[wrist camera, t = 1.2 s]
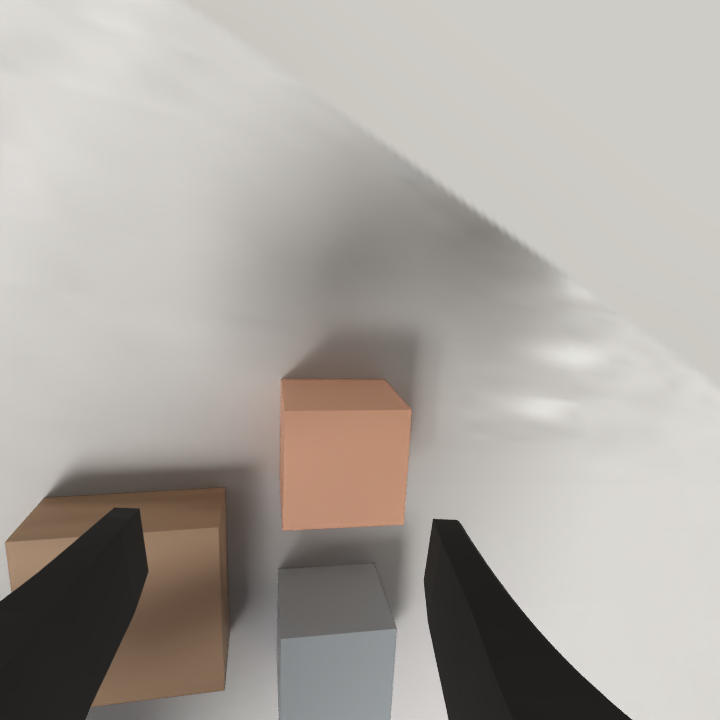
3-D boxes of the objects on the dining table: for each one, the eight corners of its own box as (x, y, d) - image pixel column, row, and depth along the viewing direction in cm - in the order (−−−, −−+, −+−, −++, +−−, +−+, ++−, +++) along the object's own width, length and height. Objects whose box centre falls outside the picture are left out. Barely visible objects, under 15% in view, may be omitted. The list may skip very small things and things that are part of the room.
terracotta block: (378, 474, 26) (403, 524, 22) (279, 477, 25) (282, 530, 21) (384, 378, 25) (411, 410, 21) (281, 378, 24) (284, 411, 20)
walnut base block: (230, 627, 27) (224, 690, 23) (63, 644, 26) (28, 714, 22) (225, 484, 25) (218, 527, 21) (46, 494, 24) (4, 542, 20)
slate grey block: (368, 643, 28) (390, 724, 24) (276, 652, 27) (279, 738, 23) (373, 561, 27) (396, 628, 23) (278, 568, 26) (280, 639, 22)
